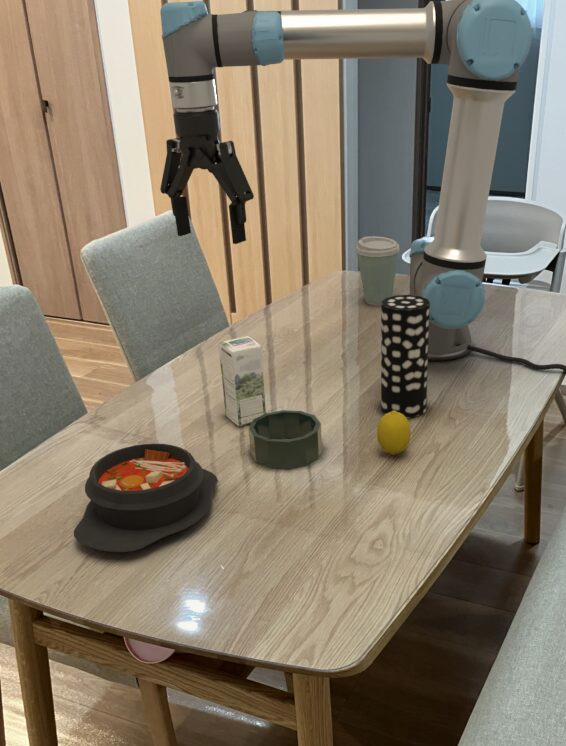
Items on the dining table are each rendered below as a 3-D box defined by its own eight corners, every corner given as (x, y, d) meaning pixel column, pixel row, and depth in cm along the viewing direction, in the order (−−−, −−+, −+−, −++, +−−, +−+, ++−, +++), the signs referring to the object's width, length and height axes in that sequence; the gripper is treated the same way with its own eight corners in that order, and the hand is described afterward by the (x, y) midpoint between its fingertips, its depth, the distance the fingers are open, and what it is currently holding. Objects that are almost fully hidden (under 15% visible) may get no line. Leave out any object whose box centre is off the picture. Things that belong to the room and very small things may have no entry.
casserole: (148, 466, 136) (141, 420, 132) (246, 488, 130) (242, 440, 125) (45, 546, 117) (31, 495, 113) (153, 576, 110) (144, 523, 106)
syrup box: (253, 408, 154) (246, 334, 147) (267, 420, 150) (261, 344, 142) (225, 416, 152) (217, 340, 144) (239, 428, 148) (231, 351, 140)
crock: (326, 438, 143) (325, 411, 141) (314, 470, 134) (312, 443, 131) (261, 434, 145) (259, 408, 142) (244, 466, 135) (241, 439, 133)
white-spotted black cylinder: (432, 403, 154) (436, 297, 143) (417, 421, 148) (420, 312, 137) (390, 396, 157) (391, 292, 147) (374, 414, 151) (373, 307, 140)
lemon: (387, 465, 134) (388, 421, 130) (371, 452, 139) (370, 408, 134) (416, 457, 136) (417, 413, 132) (399, 444, 141) (399, 401, 136)
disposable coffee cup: (405, 297, 207) (406, 236, 199) (390, 311, 199) (390, 247, 191) (366, 293, 211) (365, 233, 203) (349, 306, 203) (348, 244, 195)
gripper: (127, 110, 143) (148, 235, 154) (236, 113, 130) (250, 250, 141) (159, 104, 148) (177, 227, 159) (266, 108, 135) (277, 240, 146)
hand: (211, 238), depth 150 cm, fingers open, 13 cm apart
